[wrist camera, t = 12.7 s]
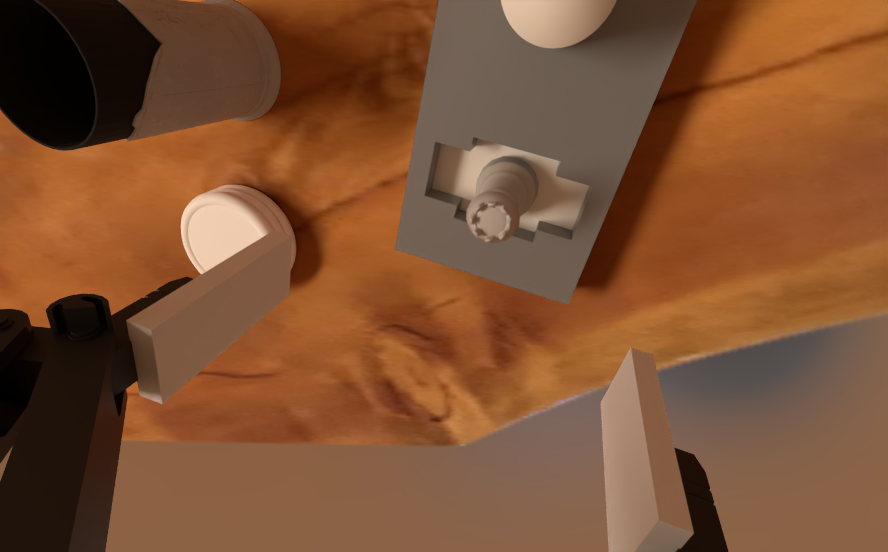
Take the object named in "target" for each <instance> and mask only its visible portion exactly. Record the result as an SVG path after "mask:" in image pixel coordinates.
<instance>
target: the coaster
mask: <svg viewBox="0 0 888 552" xmlns="http://www.w3.org/2000/svg"><path fill="white" fill-rule="evenodd" d="M274 230H275V231H278V232H281V233H285V234H288V235H291V236H292V247H291V268H292V267H293V264H294V262H295V257H296V240H295V235H294V232H293V229H292V227H291V224H290V222H289V220H288V219H287V217H286V215H285V214H284V213H283V211H282V210H281V209H280V208H279V207H278V205H277V204H276V203H275V202H274V201H272V200H271V199H270V198H269V197H267V196H266V195H265V194H263V193H261V192H260V191H258V190H255V189H253V188H250V187H247V186H243V185H225V186H221V187H218V188H216V189H213V190H211V191H208V192H207V193H203V194H201V195H198V196H197V197H196V198H194V199H193V200H192V201H191V202H190V203H189V204H188V205H187V207H186V209H185V210H184V213H183V215H182V220H181V235H182V240H183V244H184V247H185V250H186V252H187V255H188V256H189V258H190V260H191V262H192V263H193V265H194V266H195V267H196V269H197V270H198V271H199V272H200V273H201V274H203V273H205V272H206V271H208V270H210V269H211V268H213V267H215V266H216V265H218V264H219V263H221V262H223V261H224V260H226V259H228V258H229V257H231V256H233V255H234V254H236V253H237V252H239V251H241V250H242V249H244V248H246V247H247V246H249V245H251V244H252V243H254V242H256V241H257V240H259V239H260V238H262V237H264V236H265V235H267V234H269V233H270V232H272V231H274ZM290 270H291V269H290Z"/></svg>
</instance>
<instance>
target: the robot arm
mask: <svg viewBox="0 0 888 552" xmlns="http://www.w3.org/2000/svg"><path fill="white" fill-rule="evenodd" d="M291 247H292V236H291V235H288V234H285V233H281V232H278V231H275V230H274V231H272V232H270V233H269V234H267V235H265V236H264V237H262V238H260V239H259V240H257V241H256V242H254V243H252V244H251V245H249V246H247V247H246V248H244V249H242V250H241V251H239V252H237V253H236V254H234V255H233V256H231V257H229V258H228V259H226V260H224V261H223V262H221V263H219V264H218V265H216V266H215V267H213V268H211V269H210V270H208V271H206V272H205V273H203V274H201V275H200V276H198V277H197V278H195V279H192V278H189V277H184V278H181V279H177V280H174V281H171V282H168V283H167V284H165V285H163V286H162V287H160V288H158V289H156V291H153V292H151V293H150V294H148V295H146V296H145V298H141V299H139V300H137V301H136V302H134V303H132V304H131V305H129V306H127V307H125V308H124V309H122V310H120V311H119V312H117V313H115V314H113V315H112V316H111V312H110V307H109V302H108V300H107V299H105V298H104V297H103V296H99V295H95V294H78V295H71V296H68V297H65V298H61V299H59V300H57V301H55V302H54V303H52V304H50V306H49V307H48V308H47V309H46V313H47V316H48V320H49V323H50V327H51V328H44V327H34V326H31V323H30V320H29V317H28V314H26V313H24V312H23V311H20V310H14V309H0V463H1V462H2V460H3V459H4V457H5V456H6V454H7V453H8V452H9V450H10V449H11V447H12V446H13V448H12V451H11V453H10V456H9V459H8V462H7V464H6V468H5V470H4V473H3V476H2V479H1V481H0V552H105V549H106V542H107V534H108V528H109V521H110V514H111V507H112V500H113V494H114V487H115V479H116V472H117V466H118V459H119V452H120V445H121V439H122V432H123V425H124V418H125V411H126V404H127V392H126V389H127V388H128V387H129V386H131V385H132V384H133V383H135V382H136V381H137V383H138V388H139V394H140V395H141V396H143V397H146V398H148V399H151V400H153V401H156V402H158V403H161V404H163V403H164V402H166V401H167V400H168V399H169V398H170V397H171V396H173V395H174V394H175V393H176V392H177V391H178V390H179V389H181V388H182V387H183V386H184V385H185V384H186V383H188V382H189V381H190V380H191V379H192V378H193V377H195V376H196V375H197V374H198V373H199V372H200V371H202V370H203V369H204V368H205V367H206V366H207V365H208V364H210V363H211V362H212V361H213V360H214V359H215V358H217V357H218V356H219V355H220V354H221V353H222V352H224V351H225V350H226V349H227V348H228V347H229V346H230V345H232V344H233V343H234V342H235V341H236V340H237V339H239V338H240V337H241V336H242V335H243V334H244V333H246V332H247V331H248V330H249V329H250V328H251V327H252V326H254V325H255V324H256V323H257V322H258V321H259V320H261V319H262V318H263V317H264V316H265V315H266V314H268V313H269V312H270V311H271V310H272V309H273V308H275V307H276V306H277V305H278V304H279V303H280V302H281V301H283V300H284V299H285V298H286V297H287V296H288V295H289V292H290V269H291ZM601 417H602V435H603V452H604V471H605V490H606V508H607V526H608V543H609V552H728V548H727V545H726V542H725V538H724V535H723V531H722V528H721V524H720V521H719V517H718V514H717V511H716V507H715V506H714V505H713V504H714V500H713V497H712V493H711V492H710V486H709V483H708V479H707V476H706V473H705V471H704V469H703V468H702V466H701V465H700V463H699V462H698V460H697V459H696V457H695V456H694V454H691V453H688V452H685V451H682V450H679V449H677V448H674V445H673V440H672V436H671V431H670V427H669V423H668V419H667V414H666V410H665V406H664V401H663V397H662V392H661V388H660V384H659V379H658V375H657V371H656V366H655V362H654V358H653V355H652V354H649V353H646V352H643V351H640V350H637V349H634V348H630V350H629V352H628V353H627V355H626V357H625V359H624V361H623V363H622V365H621V366H620V368H619V370H618V372H617V374H616V376H615V377H614V379H613V381H612V383H611V385H610V387H609V389H608V390H607V392H606V394H605V396H604V398H603V400H602V402H601Z"/></svg>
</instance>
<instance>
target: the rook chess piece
mask: <svg viewBox="0 0 888 552" xmlns="http://www.w3.org/2000/svg"><path fill="white" fill-rule="evenodd" d="M538 185H539V184H538V180H537V177H536V174H535V172H534V170H533V169H532V168H531V167H530V166H529V164H528V163H527V162H525V161H523V160H521V159H519V158H517V157H509V156H502V157H499V158H496V159H493V160H491V161H490V162H489V163H488V164H487V165H486V166H484V167H483V169H482V171H481V173H480V175H479V177H478V180H477V182H476V197H475V198H474V199H473V200H471V202H470V204H469V206H468V208H467V214H466V220H467V223H468V226H469V229H470V230H471V231H472V233H473V234H474V235H475V236H476V238H480V239H482V240H484V241H485V242H487V243H497V242H501V241H505V240H507V239H508V238H510V237H511V236H513V235H514V234H515V232H516V230H517V228H518V227H519V222H520V216H521V215H523V214H524V213H525V212H527V211H528V210H529V209H530V207H531V206H532V204H533V202H534V201H535V199H536V197H537V193H538Z"/></svg>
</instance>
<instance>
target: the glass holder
mask: <svg viewBox="0 0 888 552" xmlns="http://www.w3.org/2000/svg"><path fill="white" fill-rule="evenodd" d="M280 85H281V66H280V60H279V55H278V51H277V49H276V46H275V43H274V41H273V39H272V37H271V35H270V33H269V31H268V30H267V28H266V27H265V25H264V24H263V23H262V21H261V20H260V19H259V18H258V17H257V16H256V15H255V14H254V13H253V12H252V11H251V10H249V9H248V8H247V7H245V6H244V5H242V4H240V3H238V2H236V1H233V0H205V1H203V2H201V3H198V2H188V1H179V0H0V110H1V111H2V112H3V113H4V115H5V116H6V117H7V118H8V119H9V120H10V121H11V122H12V123H13V124H14V125H15V126H16V127H17V128H18V129H19V130H21V131H22V132H23V133H24V134H26V135H27V136H28V137H30V138H31V139H33V140H34V141H36V142H38V143H40V144H42V145H44V146H47V147H49V148H52V149H57V150H74V149H79V148H83V147H88V146H93V145H98V144H102V143H107V142H112V141H116V140H121V139H126V138H127V141H132V140H136V139H141V138H146V137H150V136H155V135H159V134H164V133H168V132H173V131H178V130H182V129H187V128H191V127H196V126H200V125H205V124H209V123H214V122H219V121H223V120H228V119H232V120H236V121H251V120H255V119H258V118H260V117H261V116H263V115H265V114H266V113H267V112H268V111H269V110H270V109H271V107H272V106H273V104H274V103H275V101H276V99H277V96H278V94H279V89H280Z"/></svg>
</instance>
